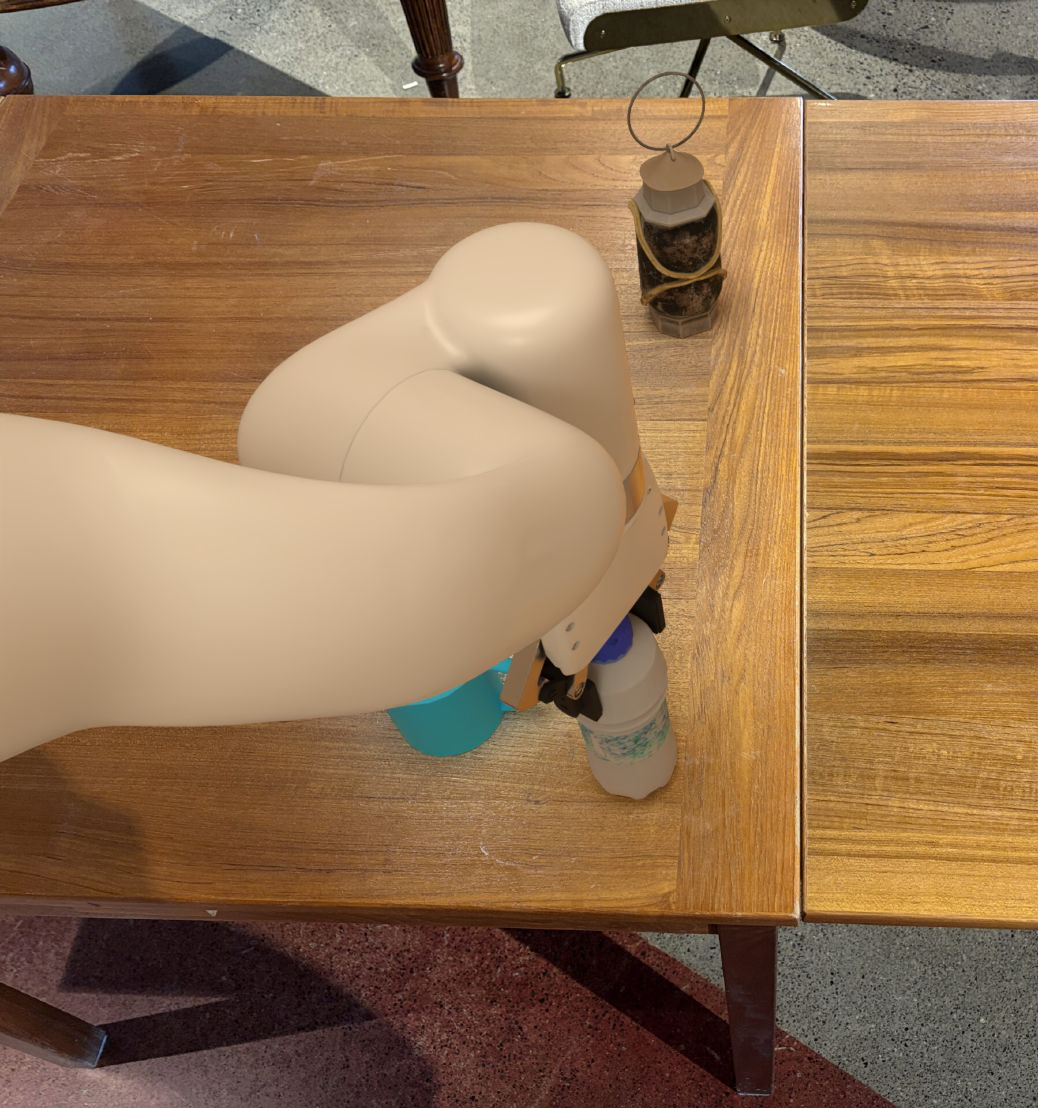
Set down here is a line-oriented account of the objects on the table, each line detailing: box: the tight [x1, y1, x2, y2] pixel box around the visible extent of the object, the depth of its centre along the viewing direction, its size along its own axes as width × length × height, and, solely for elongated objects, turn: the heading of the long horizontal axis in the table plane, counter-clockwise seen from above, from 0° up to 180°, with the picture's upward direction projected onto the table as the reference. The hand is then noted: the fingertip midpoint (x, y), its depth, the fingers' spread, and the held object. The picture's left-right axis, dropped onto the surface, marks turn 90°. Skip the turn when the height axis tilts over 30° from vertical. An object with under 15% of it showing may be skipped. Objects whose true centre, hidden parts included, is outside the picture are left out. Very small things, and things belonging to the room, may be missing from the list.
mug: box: [385, 657, 516, 758], centre depth 77 cm, size 12×8×8 cm
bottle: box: [575, 612, 679, 801], centre depth 69 cm, size 7×7×20 cm
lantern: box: [626, 70, 728, 339], centre depth 94 cm, size 9×8×25 cm
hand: (611, 662), depth 65 cm, fingers closed on bottle, 6 cm apart
